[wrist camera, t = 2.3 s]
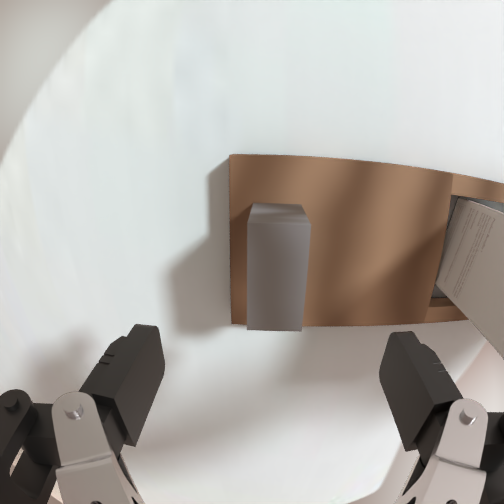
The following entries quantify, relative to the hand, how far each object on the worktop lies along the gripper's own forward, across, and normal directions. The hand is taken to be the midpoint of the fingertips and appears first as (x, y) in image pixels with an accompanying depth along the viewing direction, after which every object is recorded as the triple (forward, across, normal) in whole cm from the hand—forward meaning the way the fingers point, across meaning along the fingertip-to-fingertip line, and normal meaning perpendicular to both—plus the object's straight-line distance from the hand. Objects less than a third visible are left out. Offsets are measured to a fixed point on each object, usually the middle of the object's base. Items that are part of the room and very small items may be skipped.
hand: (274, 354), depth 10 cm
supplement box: (+13, -17, 0) cm, 21 cm away
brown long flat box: (+12, -11, 0) cm, 16 cm away
